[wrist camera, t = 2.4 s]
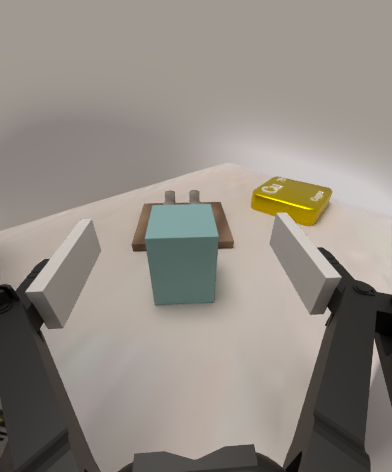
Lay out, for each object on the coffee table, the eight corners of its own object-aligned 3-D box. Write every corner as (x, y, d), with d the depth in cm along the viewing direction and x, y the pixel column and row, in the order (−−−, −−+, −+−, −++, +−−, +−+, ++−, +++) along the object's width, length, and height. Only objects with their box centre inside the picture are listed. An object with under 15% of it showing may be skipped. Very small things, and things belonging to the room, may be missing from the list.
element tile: (311, 229, 47) (318, 209, 44) (247, 208, 54) (249, 190, 52) (328, 204, 56) (335, 186, 54) (271, 190, 64) (275, 173, 61)
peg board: (133, 251, 40) (126, 219, 36) (144, 209, 53) (141, 183, 49) (232, 247, 41) (236, 216, 37) (220, 207, 54) (221, 181, 50)
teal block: (155, 305, 30) (144, 238, 24) (159, 265, 37) (152, 205, 30) (213, 302, 30) (218, 236, 24) (207, 263, 37) (210, 203, 31)
